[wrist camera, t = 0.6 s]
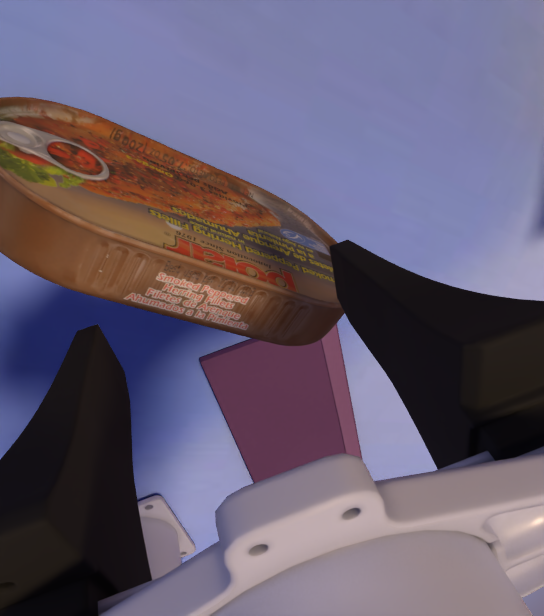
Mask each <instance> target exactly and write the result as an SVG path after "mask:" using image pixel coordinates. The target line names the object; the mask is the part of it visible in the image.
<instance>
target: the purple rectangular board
mask: <svg viewBox="0 0 544 616" xmlns="http://www.w3.org/2000/svg"><path fill="white" fill-rule="evenodd" d="M200 363H201V365H202V367H203V369H204V371H205V374H206V376H207V378H208V380H209V383H210V385H211V387H212V389H213V392H214V394H215V396H216V398H217V400H218V403H219V405H220V407H221V409H222V412H223V414H224V416H225V418H226V421H227V423H228V425H229V427H230V429H231V432H232V434H233V436H234V438H235V441H236V443H237V445H238V447H239V450H240V452H241V454H242V456H243V459H244V461H245V463H246V465H247V467H248V470H249V472H250V474H251V476H252V479H253V481H254V483H256V482H259V481H261V480H264V479H267V478H269V477H272V476H275V475H277V474H280V473H283V472H285V471H288V470H291V469H293V468H296V467H299V466H301V465H304V464H307V463H309V462H312V461H315V460H317V459H320V458H323V457H326V456H330V455H335V454H340V453H344V454H349V455H354V456H358V457H360V458H361V460H362V456H361V450H360V445H359V440H358V435H357V429H356V424H355V419H354V413H353V408H352V403H351V397H350V392H349V387H348V381H347V376H346V371H345V365H344V360H343V355H342V349H341V344H340V339H339V333H338V328H337V323H336V324H335V326H334V327H333V328H332V329H331V330H330V331H329V333H328V334H326V335H325V336H324V337H323V338H322V339H320V340H319V341H317V342H315V343H312V344H309V345H304V346H284V345H277V344H273V343H269V342H265V341H260V340H257V339H253V338H252V339H250V340H247V341H244V342H242V343H239V344H236V345H233V346H231V347H228V348H225V349H222V350H220V351H217V352H214V353H212V354H209V355H206V356H203V357H201V358H200Z"/></svg>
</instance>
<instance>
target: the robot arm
mask: <svg viewBox="0 0 544 616" xmlns="http://www.w3.org/2000/svg"><path fill="white" fill-rule="evenodd" d="M329 248H330V254H331V261H332V267H333V274H334V281H335V287H336V294H337V299H338V300H339V302H340V304H341V306H342V308H343V310H344V312H345V314H346V316H347V318H348V320H349V322H350V323H351V325H352V326H353V328H354V329H355V331H356V332H357V333H358V335H359V336H360V338H361V339H362V340H363V342H364V343H365V345H366V346H367V347H368V349H369V350H370V352H371V353H372V354H373V356H374V357H375V359H376V360H377V361H378V363H379V364H380V365H381V367H382V368H383V370H384V371H385V372H386V374H387V376H388V377H389V379H390V380H391V382H392V383H393V385H394V387H395V389H396V390H397V392H398V394H399V396H400V398H401V399H402V401H403V403H404V405H405V407H406V408H407V410H408V412H409V414H410V416H411V418H412V420H413V422H414V423H415V425H416V427H417V429H418V431H419V433H420V435H421V437H422V439H423V441H424V443H425V445H426V447H427V449H428V451H429V453H430V455H431V457H432V459H433V461H434V463H435V465H436V467H437V469H438V470H436V471H433V472H427V473H421V474H415V475H409V476H403V477H397V478H391V479H385V480H379V481H373V479H372V477H371V475H370V473H369V471H368V469H367V467H366V465H365V464H364V462H363V461H362V460H361V458H360V457H358V456H354V455H349V454H344V453H340V454H335V455H330V456H326V457H323V458H320V459H317V460H315V461H312V462H309V463H307V464H304V465H301V466H299V467H296V468H293V469H291V470H288V471H285V472H283V473H280V474H277V475H275V476H272V477H269V478H267V479H264V480H261V481H259V482H256V483H253V484H251V485H248V486H245V487H243V488H241V489H239V490H238V491H236V492H234V493H232V494H231V495H229V496H227V497H226V499H225V500H224V501H223V502H222V504H221V505H220V506H219V507H218V509H217V510H216V511H215V513H216V527H217V531H218V536H219V541H218V542H216V543H215V544H213V545H211V546H210V547H208V548H207V549H205V550H203V551H202V552H200V553H199V554H197V555H195V556H194V557H192V558H191V559H189V560H187V561H186V562H184V563H183V564H182V562H181V558H182V557H185V556H187V555H190V554H192V553H193V552H195V550H196V548H195V544H194V543H193V541H192V540H191V538H190V537H189V535H188V534H187V532H186V531H185V529H184V528H183V526H182V525H181V524H180V522H179V521H178V519H177V518H176V516H175V515H174V513H173V512H172V510H171V509H170V507H169V506H168V505H167V503H166V502H165V500H164V499H163V497H162V496H159V495H155V496H152V497H149V498H147V499H144V500H141V501H139V502H137V495H136V489H135V483H134V474H133V461H132V435H131V412H130V398H129V392H128V387H127V382H126V377H125V372H124V370H123V368H122V366H121V364H120V363H119V361H118V359H117V357H116V355H115V354H114V352H113V350H112V348H111V347H110V345H109V343H108V341H107V339H106V338H105V336H104V334H103V332H102V331H101V329H100V327H99V325H98V324H96V325H93V326H90V327H87V328H84V329H81V330H79V331H77V333H76V335H75V337H74V339H73V341H72V343H71V345H70V347H69V350H68V352H67V354H66V356H65V358H64V360H63V363H62V365H61V367H60V369H59V371H58V373H57V375H56V377H55V379H54V381H53V383H52V385H51V387H50V389H49V390H48V392H47V394H46V396H45V398H44V399H43V401H42V403H41V405H40V406H39V408H38V410H37V411H36V413H35V414H34V416H33V417H32V419H31V421H30V422H29V423H28V425H27V426H26V428H25V429H24V431H23V432H22V433H21V435H20V436H19V437H18V439H17V440H16V441H15V443H14V444H13V445H12V446H11V448H10V449H9V450H8V451H7V452H6V454H5V455H4V456H3V457H2V459H1V460H0V616H533V615H532V614H531V612H530V611H529V609H528V607H527V606H526V604H525V603H524V601H523V600H522V598H523V597H525V596H527V595H529V594H530V593H532V592H534V591H536V590H538V589H539V588H541V587H543V586H544V301H535V300H521V299H512V298H505V297H498V296H492V295H487V294H481V293H477V292H472V291H468V290H464V289H460V288H456V287H452V286H449V285H446V284H443V283H440V282H437V281H433V280H431V279H428V278H425V277H422V276H420V275H418V274H415V273H413V272H410V271H408V270H406V269H404V268H401V267H399V266H397V265H395V264H393V263H391V262H389V261H387V260H385V259H383V258H381V257H379V256H377V255H375V254H373V253H371V252H370V251H368V250H366V249H364V248H362V247H360V246H359V245H357V244H355V243H353V242H351V241H349V240H346V241H343V242H340V243H337V244H334V245H331V246H329Z"/></svg>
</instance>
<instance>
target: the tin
mask: <svg viewBox="0 0 544 616" xmlns="http://www.w3.org/2000/svg"><path fill="white" fill-rule="evenodd" d="M334 244H337V242H336V241H335V240H334V239H333V238H332V237H331V236H330V235H329V234H328V233H327V232H325V231H324V230H323V229H322V228H321V227H320V226H319V225H317V224H316V223H315V222H314V221H313V220H312V219H310V218H309V217H308V216H307V215H305V214H304V213H303V212H301V211H300V210H298V209H297V208H295V207H294V206H292V205H291V204H289V203H288V202H286V201H284V200H283V199H281V198H279V197H277V196H276V195H274V194H272V193H270V192H268V191H266V190H264V189H262V188H260V187H258V186H256V185H253V184H251V183H249V182H247V181H245V180H242V179H240V178H238V177H236V176H233V175H231V174H229V173H226V172H224V171H222V170H219V169H217V168H215V167H213V166H211V165H208V164H206V163H203V162H201V161H199V160H197V159H195V158H192V157H190V156H188V155H185V154H183V153H181V152H179V151H176V150H174V149H172V148H170V147H167V146H165V145H163V144H161V143H159V142H157V141H154V140H152V139H150V138H147V137H145V136H143V135H141V134H138V133H136V132H134V131H132V130H129V129H127V128H125V127H123V126H120V125H118V124H116V123H114V122H111V121H109V120H107V119H104V118H102V117H99V116H97V115H95V114H92V113H89V112H86V111H84V110H81V109H77V108H74V107H70V106H67V105H64V104H60V103H56V102H52V101H47V100H42V99H36V98H26V97H4V98H0V252H1V253H2V254H4V255H5V256H7V257H8V258H9V259H11V260H12V261H14V262H15V263H17V264H18V265H20V266H22V267H23V268H25V269H27V270H28V271H30V272H32V273H34V274H36V275H38V276H40V277H42V278H44V279H46V280H48V281H51V282H53V283H55V284H57V285H60V286H62V287H65V288H67V289H70V290H73V291H77V292H81V293H84V294H86V295H91V296H95V297H98V298H102V299H106V300H109V301H113V302H117V303H121V304H124V305H127V306H132V307H135V308H139V309H143V310H146V311H150V312H154V313H158V314H162V315H165V316H170V317H173V318H177V319H180V320H184V321H188V322H192V323H196V324H199V325H203V326H207V327H211V328H215V329H219V330H223V331H226V332H230V333H234V334H237V335H241V336H246V337H249V338H253V339H257V340H260V341H265V342H269V343H273V344H277V345H284V346H304V345H309V344H312V343H315V342H317V341H319V340H320V339H322V338H323V337H324V336H325V335H326V334H328V333H329V331H330V330H331V329H332V328H333V327H334V326H335V324H336V323H337V322H338V321H339V319H340V318H341V317H342V316H343V314H344V313H345V312H344V310H343V308H342V306H341V304H340V302H339V300H338V299H337V294H336V287H335V281H334V274H333V267H332V261H331V254H330V248H329V246H331V245H334Z"/></svg>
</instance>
